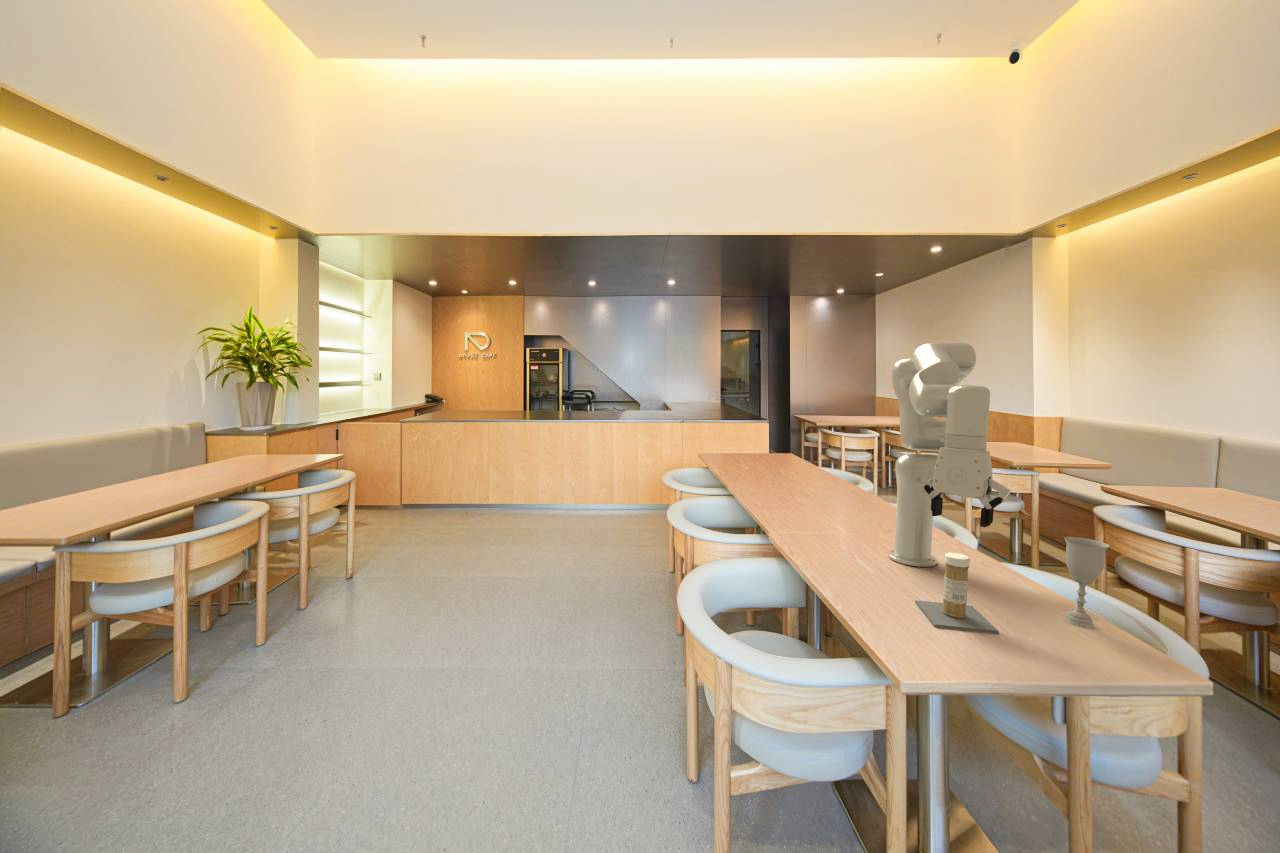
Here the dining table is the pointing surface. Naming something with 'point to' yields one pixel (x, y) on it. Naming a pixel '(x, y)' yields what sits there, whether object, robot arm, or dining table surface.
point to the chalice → (1083, 573)
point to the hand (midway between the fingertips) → (960, 520)
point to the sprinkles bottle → (955, 585)
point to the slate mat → (969, 623)
